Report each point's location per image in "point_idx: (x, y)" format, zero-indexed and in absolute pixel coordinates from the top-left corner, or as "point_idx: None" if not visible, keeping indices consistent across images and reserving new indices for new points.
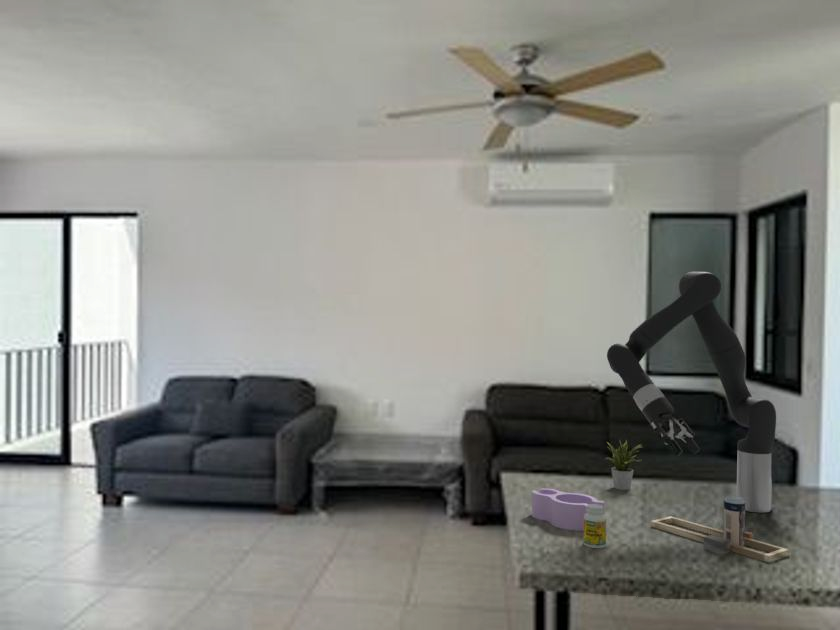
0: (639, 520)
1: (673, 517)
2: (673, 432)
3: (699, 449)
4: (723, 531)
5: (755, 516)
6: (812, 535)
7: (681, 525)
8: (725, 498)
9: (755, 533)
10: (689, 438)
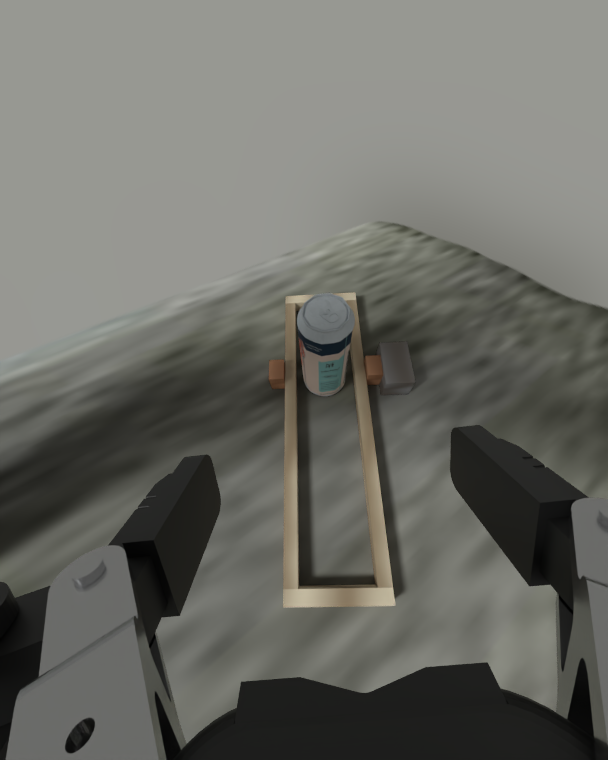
0: (372, 688)
1: (290, 589)
2: (596, 583)
3: (194, 456)
4: (336, 383)
5: (30, 492)
6: (116, 344)
7: (298, 546)
8: (343, 331)
9: (195, 405)
10: (145, 568)
